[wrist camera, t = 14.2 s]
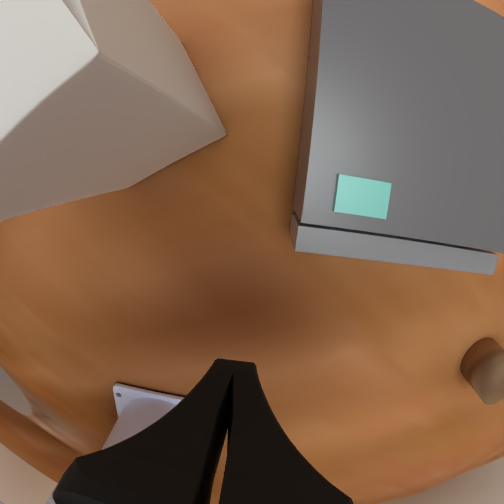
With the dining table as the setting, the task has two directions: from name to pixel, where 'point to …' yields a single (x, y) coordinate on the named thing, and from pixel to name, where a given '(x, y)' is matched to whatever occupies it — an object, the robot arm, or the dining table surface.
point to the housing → (405, 121)
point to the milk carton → (92, 100)
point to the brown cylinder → (485, 370)
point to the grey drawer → (388, 248)
